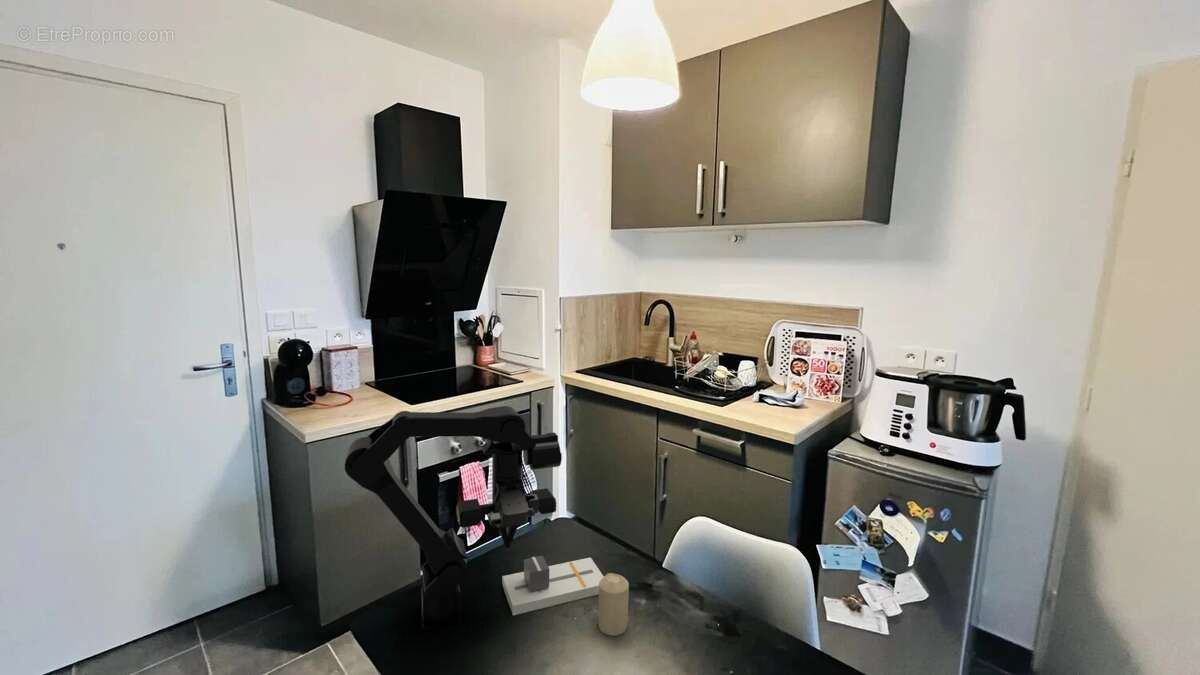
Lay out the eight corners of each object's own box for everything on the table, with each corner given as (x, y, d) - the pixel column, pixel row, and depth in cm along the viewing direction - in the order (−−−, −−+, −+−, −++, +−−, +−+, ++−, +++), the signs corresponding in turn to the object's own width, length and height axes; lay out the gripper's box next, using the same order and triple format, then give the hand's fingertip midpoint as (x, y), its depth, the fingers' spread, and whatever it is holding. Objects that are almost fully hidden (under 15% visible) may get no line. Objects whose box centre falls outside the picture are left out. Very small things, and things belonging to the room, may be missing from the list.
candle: (630, 619, 94) (632, 571, 93) (622, 639, 89) (624, 588, 88) (603, 612, 96) (604, 565, 95) (594, 631, 91) (595, 581, 90)
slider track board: (512, 615, 95) (512, 605, 94) (502, 585, 104) (502, 575, 103) (607, 592, 102) (608, 582, 102) (590, 565, 111) (590, 556, 111)
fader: (529, 591, 98) (530, 572, 98) (523, 577, 103) (523, 558, 102) (549, 587, 100) (549, 568, 99) (542, 573, 104) (542, 555, 104)
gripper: (463, 496, 85) (464, 580, 87) (566, 482, 92) (564, 559, 94) (455, 472, 95) (456, 548, 97) (548, 460, 102) (547, 531, 104)
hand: (507, 547), depth 98 cm, fingers closed
